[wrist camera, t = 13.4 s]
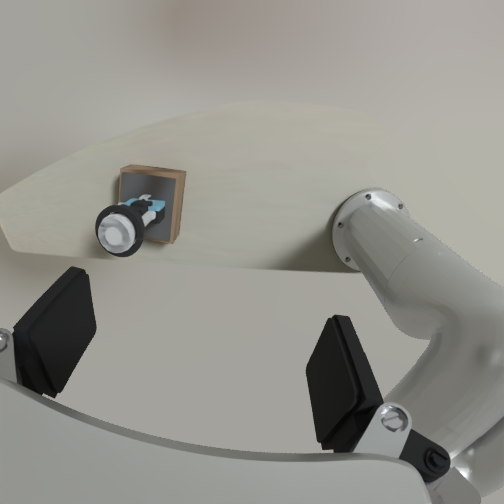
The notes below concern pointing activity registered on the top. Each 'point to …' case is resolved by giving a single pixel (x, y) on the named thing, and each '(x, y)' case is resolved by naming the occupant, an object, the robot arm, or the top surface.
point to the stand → (156, 196)
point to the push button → (127, 224)
